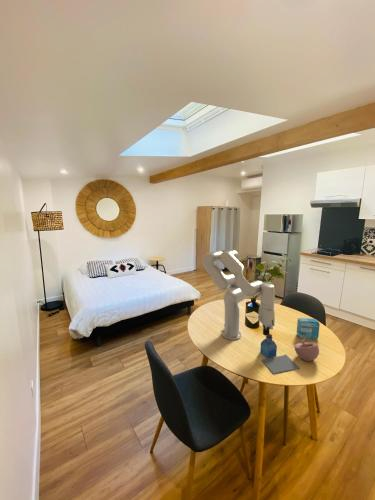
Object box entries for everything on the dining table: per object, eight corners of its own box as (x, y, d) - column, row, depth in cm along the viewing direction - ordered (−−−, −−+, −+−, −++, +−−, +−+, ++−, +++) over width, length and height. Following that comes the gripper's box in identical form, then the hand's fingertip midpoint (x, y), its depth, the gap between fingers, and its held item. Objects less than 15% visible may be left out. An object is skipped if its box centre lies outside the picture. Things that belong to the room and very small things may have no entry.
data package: (298, 337, 146) (299, 321, 144) (296, 334, 151) (297, 317, 149) (318, 339, 145) (320, 322, 142) (315, 335, 149) (317, 318, 147)
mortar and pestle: (302, 349, 134) (304, 332, 132) (322, 361, 124) (324, 342, 122) (289, 355, 129) (290, 337, 127) (308, 368, 118) (310, 349, 116)
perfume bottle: (260, 352, 132) (261, 333, 130) (268, 349, 135) (269, 331, 133) (267, 358, 127) (269, 339, 125) (276, 355, 129) (277, 336, 127)
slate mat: (261, 360, 125) (261, 359, 125) (286, 355, 129) (286, 354, 129) (273, 374, 115) (273, 373, 115) (299, 368, 119) (299, 367, 118)
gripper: (254, 301, 135) (253, 329, 138) (269, 311, 121) (268, 342, 124) (265, 299, 137) (264, 327, 140) (281, 309, 123) (279, 340, 126)
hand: (266, 334), depth 132 cm, fingers closed
